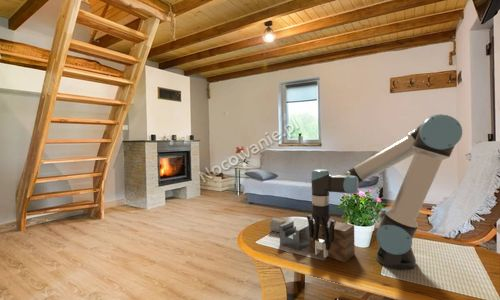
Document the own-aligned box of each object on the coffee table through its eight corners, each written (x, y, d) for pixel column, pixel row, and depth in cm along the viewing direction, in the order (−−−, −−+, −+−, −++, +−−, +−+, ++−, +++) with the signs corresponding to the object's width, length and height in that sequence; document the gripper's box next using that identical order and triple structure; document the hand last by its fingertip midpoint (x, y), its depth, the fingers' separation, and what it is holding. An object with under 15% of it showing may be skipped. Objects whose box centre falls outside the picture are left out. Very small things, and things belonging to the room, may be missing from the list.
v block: (310, 244, 135) (309, 225, 134) (299, 250, 127) (298, 230, 127) (291, 238, 143) (290, 220, 142) (279, 244, 136) (279, 225, 135)
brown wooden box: (354, 254, 121) (354, 225, 121) (345, 262, 114) (344, 231, 114) (319, 244, 134) (319, 217, 133) (309, 250, 127) (309, 222, 126)
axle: (338, 239, 125) (338, 232, 125) (322, 250, 114) (322, 242, 114) (331, 237, 128) (331, 230, 128) (315, 247, 116) (315, 240, 116)
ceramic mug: (281, 235, 148) (281, 221, 148) (269, 232, 153) (269, 219, 153) (290, 229, 157) (290, 217, 156) (278, 227, 162) (278, 215, 161)
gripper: (342, 205, 113) (342, 257, 114) (308, 199, 124) (310, 247, 126) (334, 208, 108) (335, 263, 109) (300, 202, 119) (301, 252, 120)
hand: (321, 254), depth 117 cm, fingers closed on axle, 3 cm apart
